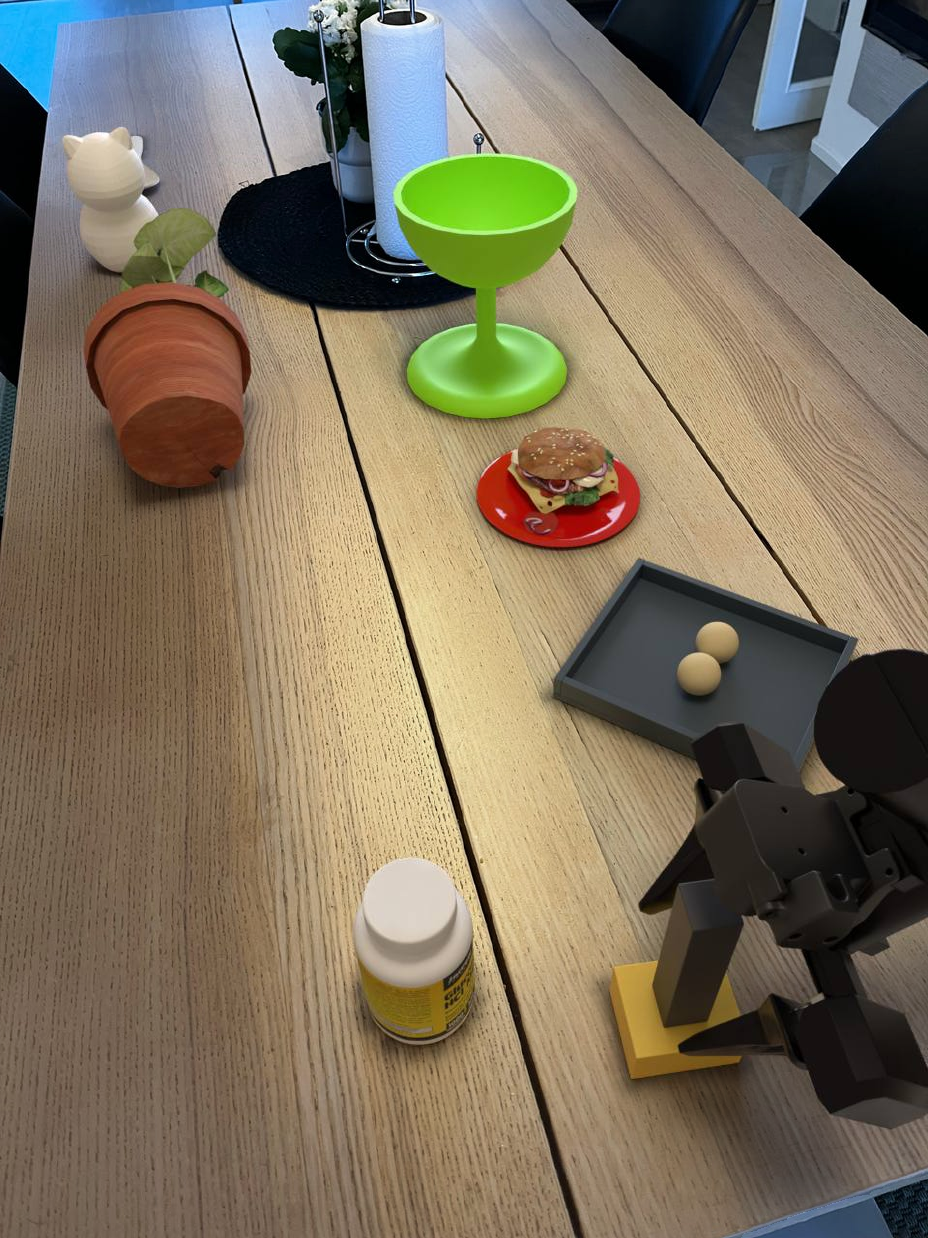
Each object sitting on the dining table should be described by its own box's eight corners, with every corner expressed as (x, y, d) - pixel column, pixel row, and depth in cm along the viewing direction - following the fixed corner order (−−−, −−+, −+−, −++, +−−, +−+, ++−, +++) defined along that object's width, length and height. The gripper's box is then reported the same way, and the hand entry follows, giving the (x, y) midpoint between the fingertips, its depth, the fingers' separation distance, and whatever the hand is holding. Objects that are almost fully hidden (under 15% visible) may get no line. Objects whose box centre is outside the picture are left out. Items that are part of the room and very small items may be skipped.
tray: (851, 657, 75) (858, 638, 73) (786, 800, 66) (793, 781, 65) (635, 576, 81) (638, 557, 79) (552, 697, 73) (553, 678, 71)
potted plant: (291, 496, 91) (235, 280, 113) (253, 357, 79) (199, 145, 100) (116, 538, 89) (92, 311, 111) (51, 402, 77) (38, 176, 98)
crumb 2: (719, 676, 73) (726, 648, 71) (715, 708, 71) (721, 680, 69) (677, 668, 74) (683, 640, 71) (671, 699, 72) (677, 671, 69)
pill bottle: (466, 1056, 56) (461, 968, 48) (356, 1039, 56) (332, 949, 48) (482, 949, 60) (480, 851, 52) (379, 935, 61) (361, 836, 53)
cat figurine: (95, 288, 115) (52, 152, 104) (85, 239, 123) (44, 108, 112) (175, 273, 117) (141, 138, 106) (160, 226, 125) (127, 96, 114)
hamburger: (451, 470, 91) (449, 414, 86) (590, 430, 94) (595, 374, 90) (519, 570, 82) (521, 513, 77) (670, 521, 85) (680, 464, 81)
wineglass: (549, 428, 95) (557, 243, 82) (385, 405, 98) (368, 224, 85) (580, 338, 105) (592, 161, 92) (432, 319, 108) (423, 146, 95)
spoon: (130, 200, 130) (127, 187, 129) (119, 139, 144) (115, 126, 142) (163, 195, 131) (160, 182, 129) (149, 135, 144) (146, 122, 143)
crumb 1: (737, 645, 75) (744, 617, 73) (732, 675, 73) (740, 647, 71) (695, 637, 76) (701, 609, 73) (690, 667, 74) (696, 639, 71)
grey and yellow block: (711, 974, 59) (756, 846, 48) (739, 1063, 55) (794, 945, 45) (609, 989, 58) (632, 863, 48) (630, 1080, 55) (661, 965, 44)
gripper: (764, 604, 46) (521, 775, 53) (956, 1007, 34) (602, 1160, 41) (883, 693, 53) (651, 835, 60) (1082, 1060, 40) (756, 1184, 47)
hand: (662, 977), depth 52 cm, fingers open, 7 cm apart
